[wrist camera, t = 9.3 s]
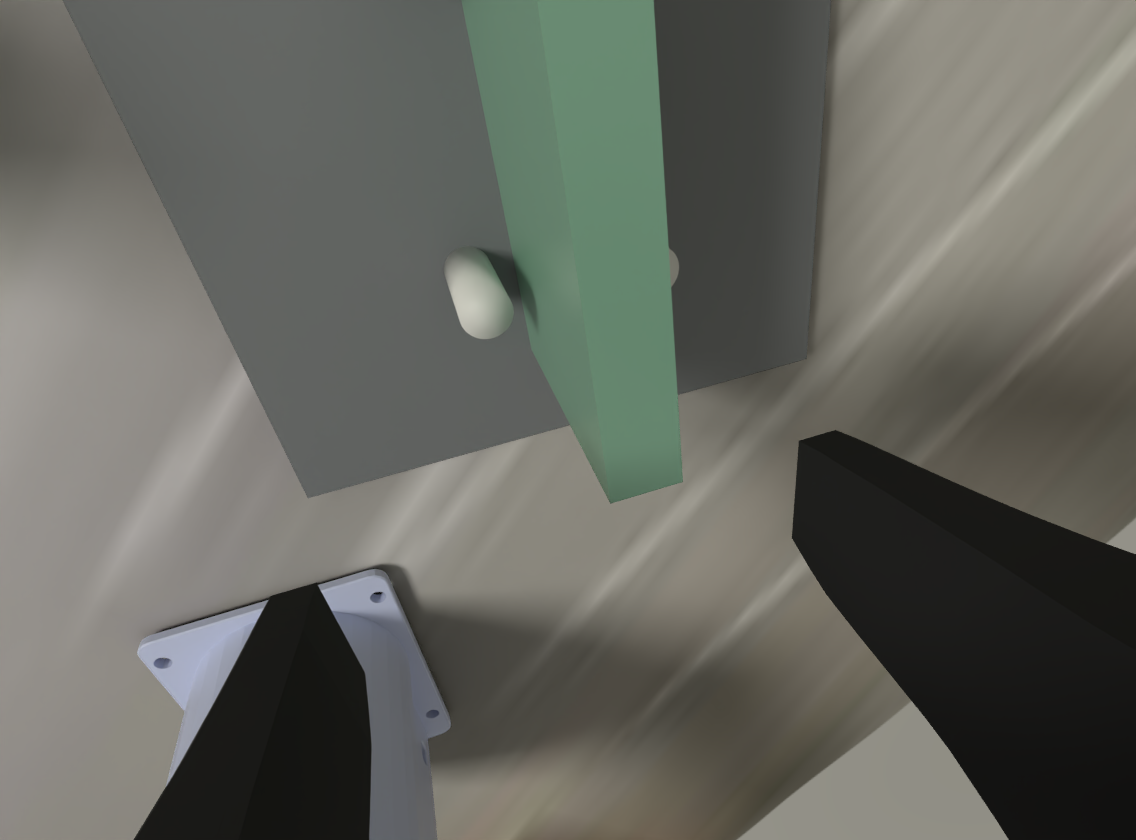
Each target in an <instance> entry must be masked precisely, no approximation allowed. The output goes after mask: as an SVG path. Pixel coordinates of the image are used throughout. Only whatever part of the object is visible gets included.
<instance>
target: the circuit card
mask: <svg viewBox="0 0 1136 840" xmlns="http://www.w3.org/2000/svg"><path fill="white" fill-rule="evenodd" d="M461 1H462V6H463V11H464V16H465V21H466V26H467V31H468V36H469V41H470V46H471V51H472V56H473V61H474V66H475V71H476V76H477V81H478V86H479V91H480V96H481V101H482V106H483V111H484V116H485V120H486V125H487V130H488V135H489V140H490V145H491V150H492V155H493V160H494V165H495V170H496V175H497V180H498V185H499V190H500V195H501V200H502V205H503V210H504V215H505V220H506V225H507V230H508V235H509V240H510V245H511V250H512V255H513V260H514V265H515V270H516V275H517V280H518V285H519V289H520V294H521V299H522V304H523V309H524V314H525V319H526V324H527V329H528V334H529V339H530V344H531V349H532V352H533V354H534V355H535V357H536V359H537V361H538V363H539V365H540V367H541V369H542V371H543V373H544V375H545V377H546V379H547V381H548V383H549V385H550V387H551V389H552V391H553V393H554V394H555V396H556V398H557V400H558V402H559V404H560V406H561V408H562V410H563V412H564V414H565V416H566V418H567V420H568V422H569V424H570V426H571V428H572V430H573V432H574V434H575V435H576V437H577V439H578V441H579V443H580V445H581V447H582V449H583V451H584V453H585V455H586V457H587V459H588V461H589V463H590V465H591V467H592V469H593V471H594V473H595V474H596V476H597V478H598V480H599V482H600V484H601V486H602V488H603V490H604V492H605V494H606V496H607V498H608V500H609V502H610V504H611V503H614V502H617V501H621V500H624V499H627V498H631V497H634V496H637V495H641V494H644V493H647V492H651V491H654V490H657V489H661V488H664V487H667V486H671V485H674V484H677V483H681V482H683V476H682V460H681V443H680V427H679V410H678V394H677V377H676V361H675V345H674V328H673V312H672V295H671V279H670V262H669V246H668V229H667V213H666V196H665V180H664V163H663V147H662V131H661V114H660V98H659V81H658V65H657V48H656V32H655V15H654V0H461Z"/></svg>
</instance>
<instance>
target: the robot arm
mask: <svg viewBox="0 0 1136 840" xmlns="http://www.w3.org/2000/svg"><path fill="white" fill-rule="evenodd" d="M792 539H793V541H794V542H795V544H796V546H797V547H798V549H799V551H800V553H801V554H802V556H803V558H804V559H805V561H806V563H807V564H808V566H809V568H810V569H811V571H812V573H813V574H814V576H815V577H816V579H817V580H818V582H819V584H820V585H821V587H822V588H823V590H824V591H825V593H826V594H827V596H828V597H829V598H830V600H831V601H832V602H833V604H834V605H835V606H836V607H837V609H838V610H839V611H840V612H841V614H842V615H843V616H844V617H845V619H846V620H847V621H848V622H849V624H850V625H851V626H852V628H853V629H854V630H855V631H856V633H857V634H858V635H859V636H860V638H861V639H862V640H863V641H864V643H865V644H866V645H867V646H868V648H869V649H870V650H871V651H872V652H873V654H874V655H875V656H876V657H877V659H878V660H879V661H880V662H881V664H882V665H883V666H884V667H885V669H886V670H887V671H888V672H889V673H890V675H891V676H892V677H893V678H894V680H895V681H896V682H897V683H898V685H899V686H900V687H901V688H902V690H903V691H904V692H905V693H906V695H907V696H908V697H909V698H910V699H911V701H912V702H913V703H914V704H915V706H916V707H917V708H918V709H919V711H920V712H921V713H922V714H923V716H925V718H926V719H927V721H928V722H929V723H930V725H931V726H932V727H933V729H934V730H935V731H936V733H937V734H938V735H939V737H940V738H941V739H942V741H943V742H944V743H945V745H946V746H947V747H948V749H949V750H950V751H951V753H952V754H953V756H954V757H955V759H956V760H957V762H958V763H959V764H960V766H961V768H962V769H963V771H964V772H965V774H966V775H967V777H968V778H969V780H970V781H971V783H972V784H973V786H974V787H975V788H976V790H977V792H978V793H979V795H980V796H981V798H982V799H983V800H984V802H985V804H986V805H987V806H988V808H989V810H990V811H991V813H992V814H993V815H994V817H995V819H996V820H997V822H998V823H999V825H1000V826H1001V828H1002V830H1003V831H1004V833H1005V834H1006V836H1007V837H1008V839H1009V840H1136V554H1133V553H1130V552H1127V551H1124V550H1122V549H1119V548H1116V547H1113V546H1111V545H1108V544H1105V543H1102V542H1099V541H1097V540H1094V539H1091V538H1089V537H1086V536H1083V535H1081V534H1078V533H1076V532H1073V531H1071V530H1068V529H1065V528H1063V527H1060V526H1058V525H1055V524H1053V523H1050V522H1047V521H1045V520H1042V519H1040V518H1037V517H1034V516H1032V515H1030V514H1027V513H1025V512H1022V511H1020V510H1017V509H1015V508H1013V507H1010V506H1008V505H1005V504H1003V503H1001V502H998V501H996V500H994V499H991V498H989V497H987V496H984V495H982V494H980V493H977V492H975V491H973V490H970V489H968V488H966V487H964V486H961V485H959V484H957V483H954V482H952V481H950V480H948V479H945V478H943V477H941V476H939V475H937V474H934V473H932V472H930V471H928V470H925V469H923V468H921V467H919V466H917V465H914V464H912V463H910V462H908V461H906V460H903V459H901V458H899V457H897V456H895V455H892V454H890V453H888V452H886V451H883V450H881V449H879V448H877V447H875V446H872V445H870V444H868V443H865V442H863V441H861V440H859V439H856V438H854V437H851V436H849V435H847V434H844V433H842V432H839V431H836V430H834V431H831V432H827V433H824V434H821V435H817V436H814V437H810V438H807V439H804V440H800V441H799V447H798V461H797V475H796V489H795V503H794V517H793V530H792ZM375 592H383V593H382V594H378V595H376V594H373V593H375ZM137 654H138V656H139V658H140V659H141V660H142V661H143V662H144V664H145V665H146V666H147V667H148V668H149V670H150V671H151V672H152V673H153V674H154V676H155V677H156V678H157V679H158V680H159V681H160V683H161V684H162V685H163V686H164V687H165V689H166V690H167V691H168V692H169V693H170V695H171V696H172V697H173V698H174V699H175V701H176V702H177V703H178V704H179V705H180V706H181V708H182V709H183V710H184V711H185V713H184V717H183V721H182V725H181V729H180V733H179V737H178V740H177V744H176V748H175V752H174V756H173V760H172V764H171V768H170V772H169V776H168V780H167V784H166V788H165V789H164V791H163V793H162V794H161V796H160V797H159V799H158V801H157V802H156V804H155V806H154V807H153V809H152V811H151V812H150V814H149V815H148V817H147V819H146V820H145V822H144V824H143V825H142V827H141V829H140V830H139V832H138V834H137V835H136V837H135V838H134V840H437V830H436V819H435V808H434V798H433V787H432V776H431V765H430V755H429V744H428V738H431V737H434V736H437V735H440V734H443V733H445V732H446V731H447V730H449V728H450V727H451V721H450V715H449V713H448V711H447V709H446V706H445V704H444V702H443V699H442V697H441V695H440V693H439V690H438V688H437V686H436V684H435V681H434V679H433V677H432V674H431V672H430V670H429V668H428V665H427V663H426V661H425V659H424V656H423V654H422V652H421V649H420V647H419V645H418V643H417V640H416V638H415V636H414V634H413V631H412V629H411V627H410V624H409V622H408V620H407V618H406V615H405V613H404V611H403V609H402V606H401V604H400V602H399V599H398V597H397V595H396V593H395V590H394V588H393V586H392V584H391V581H390V579H389V577H388V575H387V574H386V572H384V571H382V570H378V569H372V570H367V571H363V572H360V573H357V574H353V575H350V576H347V577H343V578H340V579H337V580H333V581H330V582H327V583H323V584H320V585H317V583H314V584H311V585H307V586H304V587H301V588H297V589H294V590H290V591H287V592H284V593H280V594H277V595H273V596H271V597H270V599H269V600H266V601H263V602H260V603H256V604H253V605H250V606H246V607H243V608H240V609H236V610H233V611H230V612H226V613H223V614H220V615H216V616H213V617H209V618H206V619H203V620H199V621H196V622H193V623H189V624H186V625H183V626H179V627H176V628H173V629H169V630H166V631H163V632H159V633H156V634H153V635H150V636H147V637H145V638H144V639H143V640H142V641H141V643H140V646H139V649H138V653H137ZM163 657H164V658H168V659H163Z"/></svg>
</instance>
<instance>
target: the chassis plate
mask: <svg viewBox="0 0 1136 840" xmlns="http://www.w3.org/2000/svg"><path fill="white" fill-rule="evenodd" d="M63 2H64V4H65V6H66V8H67V10H68V12H69V14H70V16H71V18H72V20H73V22H74V24H75V26H76V28H77V30H78V32H79V34H80V36H81V38H82V40H83V42H84V45H85V47H86V49H87V51H88V53H89V55H90V57H91V59H92V61H93V63H94V65H95V67H96V69H97V71H98V73H99V75H100V77H101V79H102V81H103V83H104V85H105V87H106V89H107V91H108V93H109V95H110V97H111V99H112V101H113V103H114V105H115V107H116V109H117V111H118V114H119V116H120V118H121V120H122V122H123V124H124V126H125V128H126V130H127V132H128V134H129V136H130V138H131V140H132V142H133V144H134V146H135V148H136V150H137V152H138V154H139V156H140V158H141V160H142V162H143V164H144V166H145V168H146V170H147V172H148V174H149V176H150V178H151V181H152V183H153V185H154V187H155V189H156V191H157V193H158V195H159V197H160V199H161V201H162V203H163V205H164V207H165V209H166V211H167V213H168V215H169V217H170V219H171V221H172V223H173V225H174V227H175V229H176V231H177V233H178V235H179V237H180V239H181V241H182V243H183V245H184V248H185V250H186V252H187V254H188V256H189V258H190V260H191V262H192V264H193V266H194V268H195V270H196V272H197V274H198V276H199V278H200V280H201V282H202V284H203V286H204V288H205V290H206V292H207V294H208V296H209V298H210V300H211V302H212V304H213V306H214V308H215V310H216V312H217V315H218V317H219V319H220V321H221V323H222V325H223V327H224V329H225V331H226V333H227V335H228V337H229V339H230V341H231V343H232V345H233V347H234V349H235V351H236V353H237V355H238V357H239V359H240V361H241V363H242V365H243V367H244V369H245V371H246V373H247V375H248V377H249V379H250V382H251V384H252V386H253V388H254V390H255V392H256V394H257V396H258V398H259V400H260V402H261V404H262V406H263V408H264V410H265V412H266V414H267V416H268V418H269V420H270V422H271V424H272V426H273V428H274V430H275V432H276V434H277V436H278V438H279V440H280V442H281V444H282V446H283V448H284V451H285V453H286V455H287V457H288V459H289V461H290V463H291V465H292V467H293V469H294V471H295V473H296V475H297V477H298V479H299V481H300V483H301V485H302V487H303V489H304V491H305V493H306V495H307V497H308V498H310V497H314V496H317V495H321V494H324V493H328V492H332V491H335V490H339V489H342V488H346V487H350V486H353V485H357V484H360V483H364V482H367V481H371V480H375V479H378V478H382V477H385V476H389V475H392V474H396V473H400V472H403V471H407V470H410V469H414V468H418V467H421V466H425V465H428V464H432V463H435V462H439V461H443V460H446V459H450V458H453V457H457V456H460V455H464V454H468V453H471V452H475V451H478V450H482V449H486V448H489V447H493V446H496V445H500V444H503V443H507V442H511V441H514V440H518V439H521V438H525V437H528V436H532V435H536V434H539V433H543V432H546V431H550V430H554V429H557V428H561V427H564V426H568V425H570V424H569V422H568V420H567V418H566V416H565V414H564V412H563V410H562V408H561V406H560V404H559V402H558V400H557V398H556V396H555V394H554V393H553V391H552V389H551V387H550V385H549V383H548V381H547V379H546V377H545V375H544V373H543V371H542V369H541V367H540V365H539V363H538V361H537V359H536V357H535V355H534V354H533V352H532V349H531V344H530V339H529V334H528V329H527V324H526V319H525V314H524V309H523V304H522V299H521V294H520V289H519V285H518V280H517V275H516V270H515V265H514V260H513V255H512V250H511V245H510V240H509V235H508V230H507V225H506V220H505V215H504V210H503V205H502V200H501V195H500V190H499V185H498V180H497V175H496V170H495V165H494V160H493V155H492V150H491V145H490V140H489V135H488V130H487V125H486V120H485V116H484V111H483V106H482V101H481V96H480V91H479V86H478V81H477V76H476V71H475V66H474V61H473V56H472V51H471V46H470V41H469V36H468V31H467V26H466V21H465V16H464V11H463V6H462V1H461V0H63ZM830 9H831V0H654V15H655V32H656V48H657V65H658V81H659V98H660V114H661V131H662V147H663V163H664V180H665V196H666V213H667V229H668V246H669V262H670V279H671V295H672V312H673V328H674V345H675V361H676V377H677V394H678V395H679V394H682V393H686V392H690V391H693V390H697V389H700V388H704V387H707V386H711V385H715V384H718V383H722V382H725V381H729V380H732V379H736V378H740V377H743V376H747V375H750V374H754V373H758V372H761V371H765V370H768V369H772V368H775V367H779V366H783V365H786V364H790V363H793V362H797V361H800V360H804V359H806V358H807V344H808V329H809V315H810V300H811V286H812V271H813V257H814V242H815V228H816V213H817V198H818V184H819V169H820V155H821V140H822V126H823V111H824V97H825V82H826V68H827V53H828V38H829V24H830Z"/></svg>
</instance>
